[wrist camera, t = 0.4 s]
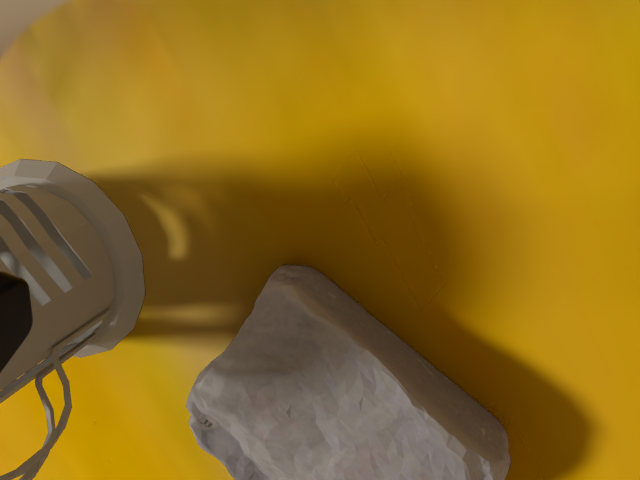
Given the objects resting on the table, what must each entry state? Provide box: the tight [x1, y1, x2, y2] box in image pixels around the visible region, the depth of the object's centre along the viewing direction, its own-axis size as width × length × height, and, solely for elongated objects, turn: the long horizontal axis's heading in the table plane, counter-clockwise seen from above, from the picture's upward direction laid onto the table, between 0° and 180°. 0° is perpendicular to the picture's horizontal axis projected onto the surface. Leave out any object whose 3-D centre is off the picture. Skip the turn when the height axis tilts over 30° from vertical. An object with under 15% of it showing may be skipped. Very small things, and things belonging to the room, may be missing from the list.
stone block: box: [186, 265, 511, 480], centre depth 25 cm, size 12×5×10 cm
